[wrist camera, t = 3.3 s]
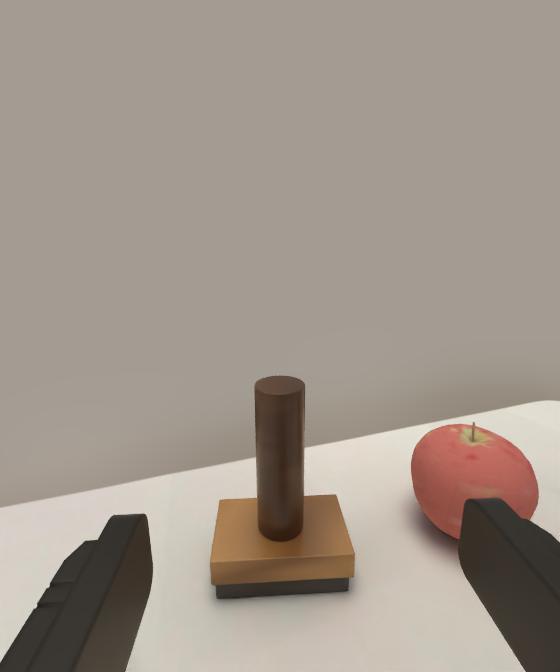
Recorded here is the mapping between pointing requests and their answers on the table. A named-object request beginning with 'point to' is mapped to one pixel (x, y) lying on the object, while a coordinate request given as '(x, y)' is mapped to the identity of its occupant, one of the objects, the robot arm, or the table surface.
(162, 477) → the table surface
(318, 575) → the wooden handled stamp
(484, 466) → the apple
